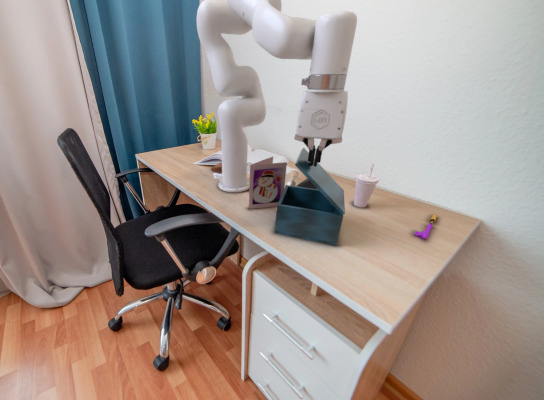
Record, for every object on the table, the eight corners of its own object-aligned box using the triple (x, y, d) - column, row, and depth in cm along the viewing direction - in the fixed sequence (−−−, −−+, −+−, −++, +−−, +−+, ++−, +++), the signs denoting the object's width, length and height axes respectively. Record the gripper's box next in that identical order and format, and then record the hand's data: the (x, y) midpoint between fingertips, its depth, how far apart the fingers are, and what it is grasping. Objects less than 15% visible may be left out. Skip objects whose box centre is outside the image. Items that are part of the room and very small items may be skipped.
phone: (296, 185, 90) (313, 174, 100) (295, 188, 91) (313, 177, 100) (316, 191, 85) (332, 179, 95) (315, 194, 86) (332, 181, 96)
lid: (294, 164, 56) (297, 162, 55) (301, 149, 67) (303, 147, 66) (342, 215, 57) (345, 213, 56) (341, 191, 68) (343, 190, 67)
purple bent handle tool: (427, 240, 61) (437, 217, 71) (427, 235, 61) (438, 213, 71) (413, 237, 63) (426, 215, 73) (414, 233, 63) (426, 212, 73)
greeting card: (249, 210, 77) (251, 165, 70) (244, 199, 84) (245, 158, 77) (283, 206, 79) (288, 163, 72) (275, 196, 85) (279, 155, 78)
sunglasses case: (233, 159, 122) (239, 149, 118) (243, 168, 121) (249, 158, 116) (209, 169, 110) (214, 158, 106) (219, 179, 109) (225, 169, 104)
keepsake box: (274, 233, 66) (277, 205, 62) (283, 209, 77) (286, 184, 73) (336, 246, 61) (343, 216, 56) (336, 219, 72) (342, 192, 68)
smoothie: (373, 210, 76) (386, 168, 69) (351, 208, 77) (362, 167, 70) (367, 201, 81) (378, 161, 75) (347, 199, 82) (356, 160, 76)
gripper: (288, 85, 52) (280, 166, 60) (367, 84, 47) (346, 173, 55) (293, 83, 58) (285, 157, 66) (363, 83, 53) (345, 163, 61)
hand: (313, 164), depth 61 cm, fingers closed
